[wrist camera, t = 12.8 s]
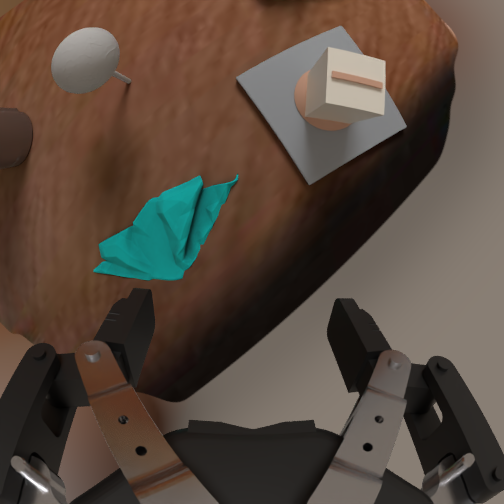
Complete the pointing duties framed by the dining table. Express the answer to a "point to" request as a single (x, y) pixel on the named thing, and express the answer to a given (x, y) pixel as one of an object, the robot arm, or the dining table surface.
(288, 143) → the base
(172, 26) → the dining table surface
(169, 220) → the cloth
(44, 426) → the robot arm
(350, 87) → the striped cream block
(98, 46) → the lollipop
